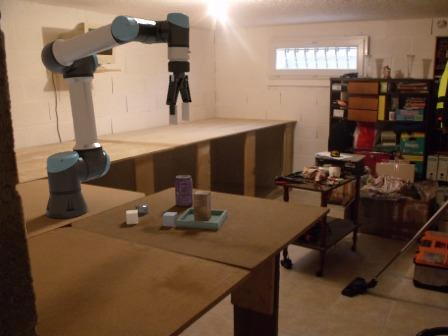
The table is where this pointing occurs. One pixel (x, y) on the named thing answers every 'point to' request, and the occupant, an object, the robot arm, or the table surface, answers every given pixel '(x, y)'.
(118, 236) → the table surface
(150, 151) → the table surface
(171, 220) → the slate-blue block
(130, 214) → the cream cube
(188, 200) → the beverage can
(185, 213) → the tray
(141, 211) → the grey metal puck
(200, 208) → the walnut block
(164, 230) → the table surface
